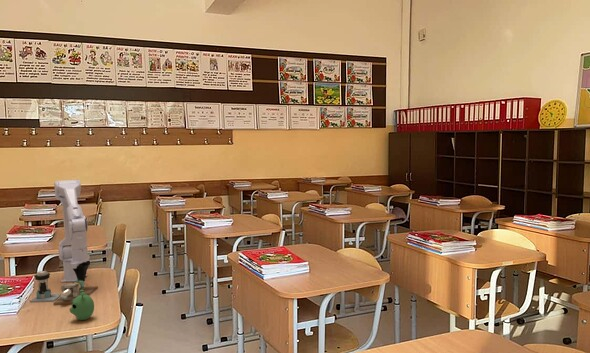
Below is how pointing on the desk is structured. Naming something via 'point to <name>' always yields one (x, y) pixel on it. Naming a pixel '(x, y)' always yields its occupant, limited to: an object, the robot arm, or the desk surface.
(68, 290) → the shaft
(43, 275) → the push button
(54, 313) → the desk surface
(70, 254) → the robot arm
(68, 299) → the bracket
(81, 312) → the alien toy
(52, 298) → the pad
